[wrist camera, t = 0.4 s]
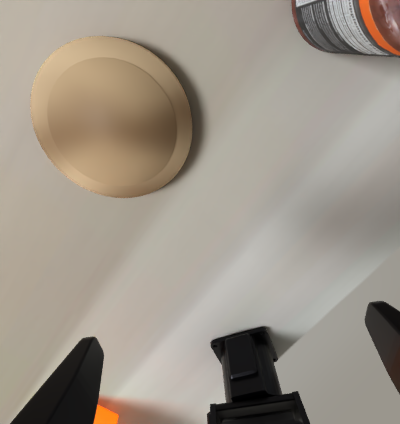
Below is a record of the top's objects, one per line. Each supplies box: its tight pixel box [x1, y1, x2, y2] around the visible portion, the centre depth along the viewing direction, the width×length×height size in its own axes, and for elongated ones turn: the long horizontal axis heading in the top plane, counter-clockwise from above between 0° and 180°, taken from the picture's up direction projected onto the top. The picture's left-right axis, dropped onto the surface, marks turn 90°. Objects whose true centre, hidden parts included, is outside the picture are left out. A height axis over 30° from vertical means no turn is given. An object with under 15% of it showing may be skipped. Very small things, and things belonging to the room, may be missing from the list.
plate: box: [30, 36, 192, 198], centre depth 18 cm, size 10×10×1 cm
